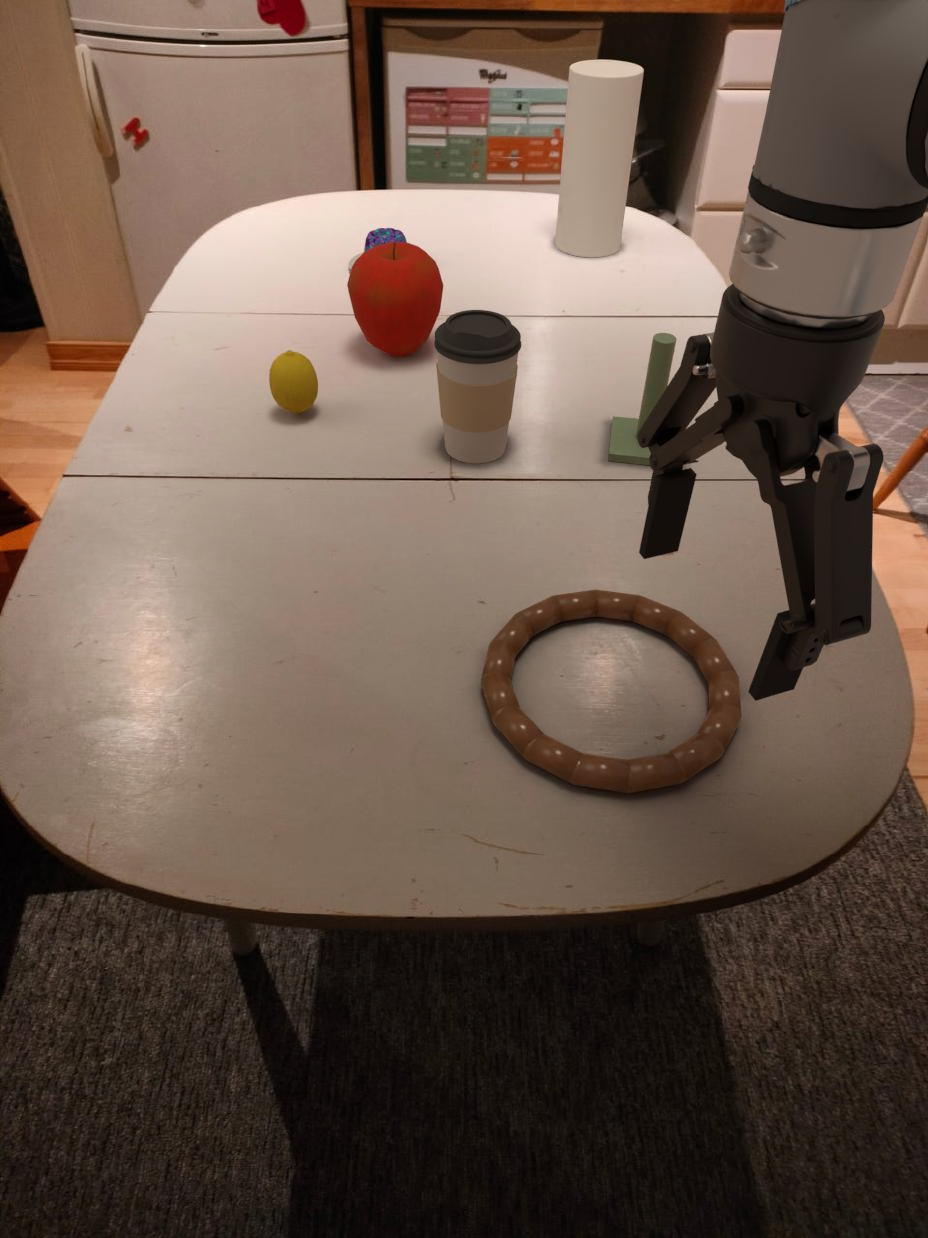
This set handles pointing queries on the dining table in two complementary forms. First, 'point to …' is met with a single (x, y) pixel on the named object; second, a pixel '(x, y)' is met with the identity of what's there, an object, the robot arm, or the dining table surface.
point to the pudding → (380, 240)
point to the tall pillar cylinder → (597, 155)
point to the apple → (395, 296)
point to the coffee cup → (476, 382)
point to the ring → (599, 768)
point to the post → (643, 404)
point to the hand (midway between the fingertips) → (709, 616)
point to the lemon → (293, 382)
